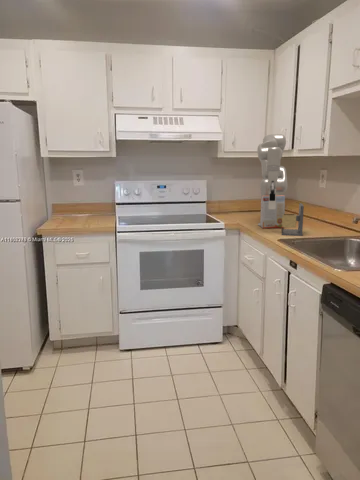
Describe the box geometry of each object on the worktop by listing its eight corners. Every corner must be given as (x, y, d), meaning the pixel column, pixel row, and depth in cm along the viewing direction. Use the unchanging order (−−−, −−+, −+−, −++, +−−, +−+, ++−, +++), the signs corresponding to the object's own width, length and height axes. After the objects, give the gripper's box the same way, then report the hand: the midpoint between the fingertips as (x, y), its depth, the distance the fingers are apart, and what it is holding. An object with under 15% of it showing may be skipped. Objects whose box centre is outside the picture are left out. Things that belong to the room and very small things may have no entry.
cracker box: (281, 226, 242) (282, 194, 238) (284, 228, 236) (285, 195, 232) (260, 227, 241) (261, 195, 237) (262, 228, 236) (263, 195, 232)
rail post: (268, 208, 222) (269, 185, 220) (275, 208, 221) (276, 185, 218) (268, 209, 219) (269, 185, 216) (275, 209, 218) (276, 185, 215)
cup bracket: (281, 230, 227) (282, 203, 224) (300, 231, 224) (302, 203, 221) (281, 235, 212) (282, 205, 209) (302, 235, 209) (304, 206, 206)
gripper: (267, 168, 224) (266, 198, 228) (266, 169, 208) (265, 201, 212) (280, 168, 222) (278, 199, 226) (280, 169, 206) (278, 201, 210)
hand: (272, 200), depth 219 cm, fingers closed on rail post, 4 cm apart
